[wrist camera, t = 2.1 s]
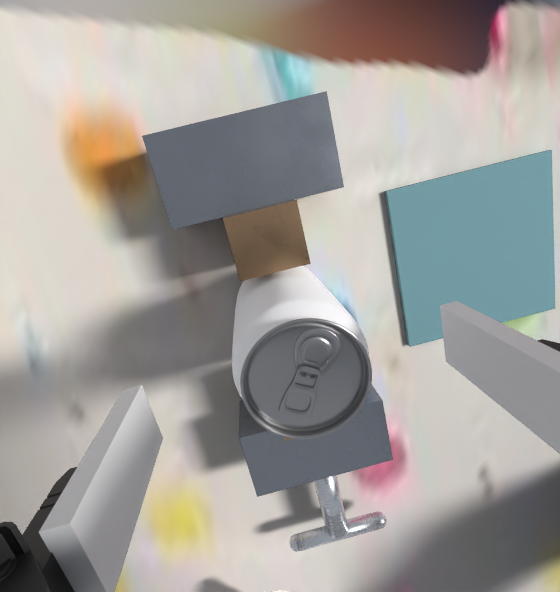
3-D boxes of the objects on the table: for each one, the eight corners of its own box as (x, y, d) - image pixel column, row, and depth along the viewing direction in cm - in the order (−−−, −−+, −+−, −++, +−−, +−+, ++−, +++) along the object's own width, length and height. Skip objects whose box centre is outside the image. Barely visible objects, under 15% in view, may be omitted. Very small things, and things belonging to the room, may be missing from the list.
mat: (551, 306, 29) (555, 308, 29) (407, 344, 29) (410, 346, 28) (547, 150, 26) (551, 149, 25) (384, 191, 25) (386, 191, 25)
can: (335, 273, 26) (404, 331, 15) (307, 352, 28) (351, 460, 16) (250, 248, 25) (255, 289, 14) (225, 331, 27) (211, 431, 15)
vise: (386, 496, 32) (416, 561, 27) (278, 526, 32) (285, 598, 26) (311, 111, 23) (333, 82, 18) (161, 147, 23) (133, 130, 17)
